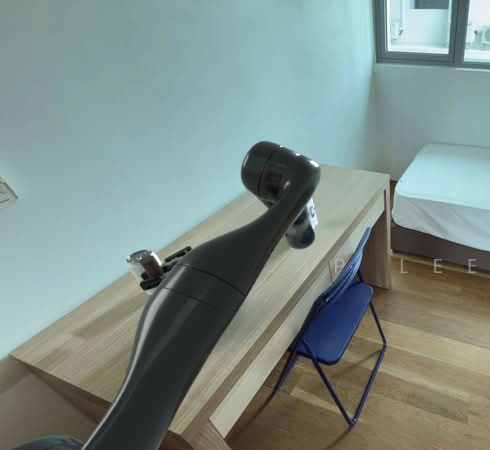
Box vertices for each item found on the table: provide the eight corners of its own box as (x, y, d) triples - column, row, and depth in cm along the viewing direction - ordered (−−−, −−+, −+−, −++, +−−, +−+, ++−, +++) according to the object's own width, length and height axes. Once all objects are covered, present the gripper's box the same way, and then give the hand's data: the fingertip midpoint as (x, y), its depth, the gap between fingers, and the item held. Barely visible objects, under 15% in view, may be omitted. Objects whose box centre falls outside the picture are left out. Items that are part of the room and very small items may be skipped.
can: (142, 293, 86) (118, 261, 79) (162, 278, 91) (141, 246, 84) (159, 298, 85) (136, 266, 78) (179, 282, 90) (159, 250, 83)
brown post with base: (184, 315, 71) (151, 267, 62) (161, 316, 71) (125, 268, 62) (195, 297, 75) (166, 250, 66) (174, 298, 75) (142, 251, 66)
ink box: (290, 228, 110) (282, 200, 103) (297, 221, 114) (289, 193, 107) (312, 231, 108) (305, 202, 102) (318, 223, 112) (312, 194, 106)
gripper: (219, 225, 76) (135, 251, 68) (227, 256, 66) (129, 290, 59) (230, 249, 80) (152, 275, 73) (239, 281, 70) (149, 315, 63)
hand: (142, 282), depth 66 cm, fingers closed on brown post with base, 2 cm apart
